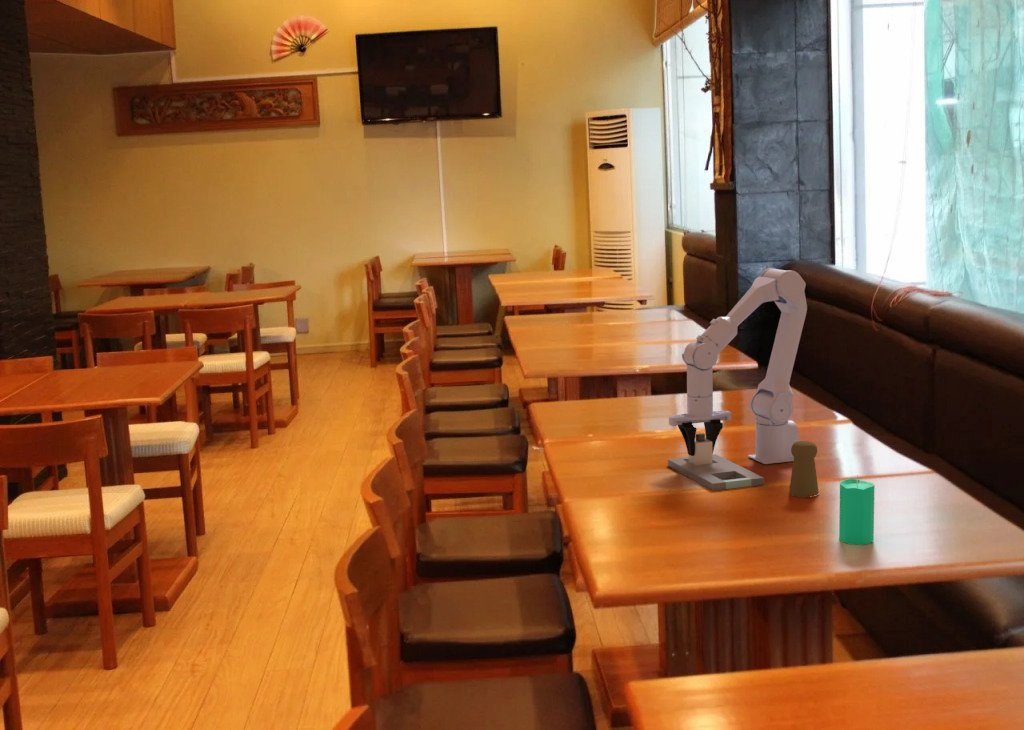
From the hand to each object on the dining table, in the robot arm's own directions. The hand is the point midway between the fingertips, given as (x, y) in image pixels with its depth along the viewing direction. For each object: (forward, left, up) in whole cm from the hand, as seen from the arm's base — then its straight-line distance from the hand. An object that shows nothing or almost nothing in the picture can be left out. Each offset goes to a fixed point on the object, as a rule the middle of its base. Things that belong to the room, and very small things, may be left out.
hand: (700, 453), depth 261 cm
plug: (0, 0, -3) cm, 3 cm away
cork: (-10, +28, -3) cm, 30 cm away
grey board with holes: (0, +7, -3) cm, 8 cm away
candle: (-3, +58, -3) cm, 58 cm away
